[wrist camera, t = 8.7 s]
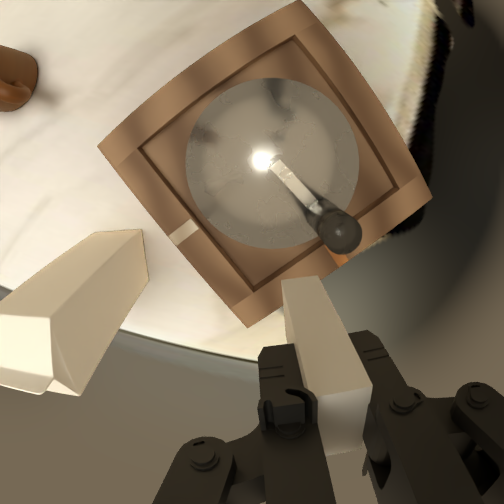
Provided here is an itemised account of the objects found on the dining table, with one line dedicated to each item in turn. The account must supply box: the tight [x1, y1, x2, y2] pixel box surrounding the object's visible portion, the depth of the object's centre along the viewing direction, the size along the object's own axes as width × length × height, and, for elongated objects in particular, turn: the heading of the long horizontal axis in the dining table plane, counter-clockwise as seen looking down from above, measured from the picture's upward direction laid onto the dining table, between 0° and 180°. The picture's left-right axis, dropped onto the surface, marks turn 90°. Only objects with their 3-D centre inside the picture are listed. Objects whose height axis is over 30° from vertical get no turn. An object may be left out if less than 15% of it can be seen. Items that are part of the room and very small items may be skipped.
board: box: [97, 0, 433, 328], centre depth 29 cm, size 24×24×3 cm
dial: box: [185, 78, 362, 255], centre depth 25 cm, size 16×16×8 cm
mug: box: [0, 45, 37, 112], centre depth 22 cm, size 12×8×9 cm, turn 58°
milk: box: [0, 229, 149, 396], centre depth 23 cm, size 6×6×22 cm
